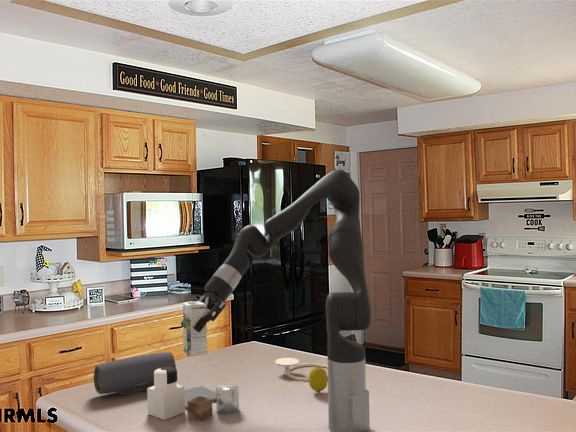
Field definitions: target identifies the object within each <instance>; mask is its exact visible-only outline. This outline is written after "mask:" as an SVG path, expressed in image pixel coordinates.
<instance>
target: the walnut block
mask: <svg viewBox="0 0 576 432" xmlns="http://www.w3.org/2000/svg"><path fill="white" fill-rule="evenodd" d="M187 404H188V409H187V419H190V420H194V421H196V422H197V421H198V422H200V423H201V422H203V421H204V420H207V419H209V418H211V417H213V402H212V399H210V398H205V397H201V396H198V397H196V398H194V399H191V400H189V401H187Z"/></svg>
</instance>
